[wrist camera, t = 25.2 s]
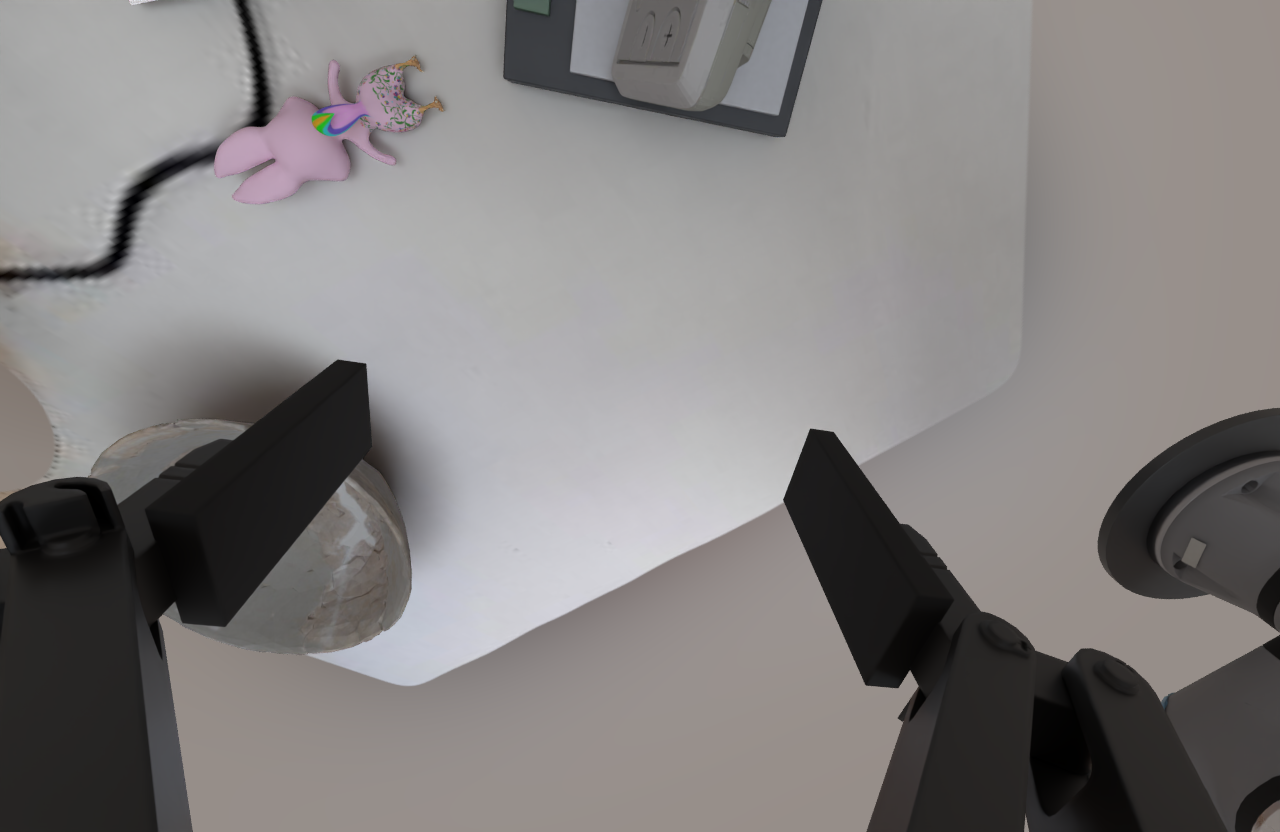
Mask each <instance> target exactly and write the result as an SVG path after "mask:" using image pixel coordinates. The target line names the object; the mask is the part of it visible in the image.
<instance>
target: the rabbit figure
mask: <svg viewBox="0 0 1280 832" xmlns="http://www.w3.org/2000/svg"><path fill="white" fill-rule="evenodd" d="M407 66H416V67H417V69H419V71H421V72H424V71H422V70H421V69H420V65H419V62H418V60H417V59H416V55H415V56H413V57H412V59H411V60H409V61H407V62H405V63H399V64H396V65H389V66H384V67H381V68H379V69H377V70H374V71H372V72H370V73H369V74H367V75H366V76H365V77H364V78H363V80H362V81H361V83H360V84H359V87H358V89H357V96H356V101H355V103H350V102H348V101H346V100H345V99H344V98H343V96H342V95H341V92H340V89H339V86H338V74H339V71H340V65H339V63H338V62H337V61H335V60H331V61H330V63H329V71H328V89H329V96H330V101H331V105H332V106H327V107H324V108H322V109H320V110H319V109H318V108H317V107H316V106H315V105H313V104H312V103H310V102H308V101H306V100H304V99H301V98H299V97H289V98H288V99H287V100H286V101H285V103H284V105H283V106H282V108H281V110H280V111H279V113H278V114H277V116H276V117H275V118H274V119H273V120H272V121H271V122H270V123H269V124H268V125H267V126H265V127H245V128H242V129H240V130H238V131H236V132H234V133H233V134H232V135H231V136H229V137H228V138H227V139H226V140H225V141H224V142H223V143H222V144H221V145H220V147H219V148H218V150H217V153H216V156H215V163H214V172H215V175H216V177H218V178H223V177H226V176H230V175H234V174H238V173H241V172H244V171H246V170H249V169H251V168H253V167H255V166H257V165H259V164H262V163H264V162H266V161H268V160H270V159H276V161H275V163H273V164H271V165H269V166H267V167H265V168H263V169H262V170H260V171H259V172H257V173H255V174H253V175H252V176H250V177H249V178H247V179H246V180H245V181H244V182H243V183H242V184H241V185H240V187H239V188H238V189H237V190H236V191H235V192H234V194H233V195H232V198H233V199H234V200H236V201H238V202H242V203H247V204H265V203H269V202H273V201H277V200H281V199H284V198H287V197H289V196H291V195H293V194H294V193H295V192H296V191H297V190H298V189H299V188H300V186H301V185H302V184H303V183H304V182H306V181H310V180H328V181H344V180H346V179H347V177H348V175H349V172H350V159H349V156H348V154H347V152H346V150H345V148H344V146H343V143H342V140H343V139H348V140H350V141H351V142H353V143H354V144H355V145H356V146H358V147H359V148H360V149H361V150H363V151H364V152H366V153H367V154H368V155H370V156H371V157H373V158H375V159H377V160H379V161H382V162H384V163H386V164H389V165H395V164H396V159H395V158H394V157H393V156H391V155H387V154H383V153H381V152H379V151H378V150H377V149H376V148H375V147H374V146H373V145H372V144H371V143H370V141H369V135H370V133H371V132H372V131H373V130H374V129H376V128H377V129H380V130H383V131H390V132H406V131H409V130H412V129H414V128H416V127H417V126H418V125H419V124H420V123H421V120H422V117H423V114H424V112H425V110H427V109H429V108H434V107H436V108H439V110H441V112H442V111H445V110H442V109H443V108H442V105H441V103H440V102H439V100H438V99H436V97H437V96H435V99H434V102H433V103H431V104H429V105H427V106H422V105H418V104H416V103H415V102H414V101H411V100H409V99H406V98H405V97H404V90H405V82H404V79H403V75H402V74H403V70H404V68H405V67H407Z"/></svg>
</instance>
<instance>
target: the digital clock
mask: <svg viewBox="0 0 1280 832" xmlns="http://www.w3.org/2000/svg"><path fill="white" fill-rule="evenodd" d="M771 1H772V0H629V3H628V7H627V11H626V14H625V18H624V22H623V25H622V29H621V33H620V37H619V40H618V44H617V48H616V52H615V56H614V59H613V64H612V70H611V74H612V77H613V80H614V82H615V84H616V86H617V88H618V90H619V92H620V94H621V95H622V96H624V97H626V98H629V99H633V100H638V101H643V102H648V103H652V104H657V105H662V106H667V107H672V108H676V109H681V110H687V111H704V110H707V109H710V108H712V107H714V106H716V105H718V104H719V103H720V102H721V101H722V100H723V99H724V98H725V96H726V95H727V93H728V90H729V88H730V86H731V84H732V81H733V78H734V76H735V73H736V70H737V68H739V67H740V66H742V65H744V64H745V63H747V62H748V61H749V60H750V57H751V55H752V52H753V49H754V47H755V44H756V41H757V39H758V36H759V33H760V31H761V28H762V25H763V23H764V20H765V17H766V15H767V12H768V9H769V7H770V4H771Z"/></svg>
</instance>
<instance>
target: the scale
mask: <svg viewBox="0 0 1280 832" xmlns="http://www.w3.org/2000/svg"><path fill="white" fill-rule="evenodd" d="M628 3H629V0H507V10H506V32H505V54H504V75H503V77H504V79H506V80H508V81H510V82H512V83H517V84H521V85H526V86H531V87H536V88H541V89H546V90H550V91H555V92H560V93H565V94H570V95H575V96H579V97H584V98H589V99H594V100H599V101H604V102H608V103H613V104H618V105H623V106H628V107H633V108H637V109H642V110H647V111H652V112H657V113H662V114H666V115H671V116H676V117H681V118H686V119H691V120H696V121H700V122H705V123H710V124H715V125H720V126H725V127H729V128H734V129H739V130H744V131H749V132H754V133H758V134H763V135H768V136H773V137H785V136H786V133H787V129H788V126H789V122H790V118H791V114H792V111H793V107H794V103H795V100H796V96H797V92H798V89H799V85H800V81H801V77H802V74H803V70H804V66H805V63H806V59H807V55H808V52H809V48H810V44H811V40H812V37H813V33H814V29H815V26H816V22H817V18H818V15H819V11H820V7H821V4H822V0H772V1H771V4H770V7H769V9H768V12H767V15H766V17H765V20H764V23H763V25H762V28H761V31H760V33H759V36H758V39H757V41H756V44H755V47H754V49H753V52H752V55H751V57H750V60H749V61H748V62H747V63H745V64H744V65H742V66H740V67H739V68H737V70H736V73H735V76H734V78H733V81H732V84H731V86H730V88H729V90H728V93H727V95H726V96H725V98H724V99H723V100H722V101H721V102H720V103H719V104H718V105H716V106H714V107H712V108H710V109H707V110H704V111H687V110H681V109H676V108H672V107H667V106H662V105H657V104H652V103H648V102H643V101H638V100H633V99H629V98H626V97H624V96H622V95H621V94H620V92H619V90H618V88H617V86H616V84H615V82H614V80H613V77H612V74H611V70H612V64H613V59H614V56H615V52H616V48H617V44H618V40H619V37H620V33H621V29H622V25H623V22H624V18H625V14H626V11H627V7H628Z"/></svg>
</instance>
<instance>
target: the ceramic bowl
mask: <svg viewBox="0 0 1280 832" xmlns="http://www.w3.org/2000/svg"><path fill="white" fill-rule="evenodd" d="M254 424H255V423H246V422H238V421H229V420H221V419H179V420H177V421H176V423H166V424H159V425H155V426H152V427H149V428H146V429H142V430H139V431H136V432H134V433H131V434H128V435H126V436H125V437H123V438H121V439H119V440H118V441H117V442H115V443H114V444H113V445H111V446H110V447H109V448H107V449H106V450H105V451H104V452H102V453H101V455H100V456H99V458H98V459H97V461H96V462H95V464H94V466H93V467H92V469H91V475H90V476H88V478H96V479H99V480H102V481H105V482H107V483H108V484H109V486H110V487H111V489H112V491H113V494H114V497H115V500H116V502H117V505H118V504H119V503H121V502H122V501H123V500H125V499H126V498H127V497H129V496H130V495H132V494H133V493H134V492H136V491H137V490H139V489H140V488H141V487H143V486H144V485H145V484H147V483H148V482H150V481H151V480H152V479H154V478H158V477H159V474H161V473H162V472H163V471H165V470H166V469H168V468H169V467H170V466H175V463H176V462H177V461H179V460H180V459H181V458H183V457H184V456H185V455H187V454H188V453H190V452H191V451H192V450H194V449H196V448H198V447H201V446H203V445H206V444H208V443H211V442H213V441H216V440H218V439H228V440H234V439H236V438H237V437H238V436H239V435H241V434H242V433H243V432H245V431H246V430H247V429H248V428H250V427H251V426H252V425H254ZM411 578H412V570H411V559H410V550H409V544H408V539H407V534H406V529H405V524H404V521H403V518H402V515H401V512H400V509H399V507H398V505H397V502H396V499H395V497H394V495H393V493H392V491H391V490H390V488H389V486H388V484H387V483H386V481H385V479H384V478H383V476H382V475H381V473H380V472H379V471H377V470H376V469H375V468H374V467H372V466H371V465H369V464H368V463H367V462H365V461H364V460H361V461H360V462H359V464H358V465H357V466H356V467H355V468H354V470H353V471H352V472H351V473H350V475H349V476H348V477H347V478H346V480H345V481H344V482H343V483H342V484H341V486H340V487H339V488H338V489H337V491H336V492H335V493H334V494H333V495H332V497H331V498H330V499H329V500H328V502H327V503H326V504H325V505H324V507H323V508H322V509H321V510H320V511H319V513H318V514H317V515H316V516H315V518H314V519H313V520H312V521H311V523H310V524H309V525H308V526H307V527H306V529H305V530H304V531H303V532H302V534H301V535H300V536H299V537H298V538H297V540H296V541H295V542H294V543H293V545H292V546H291V547H290V548H289V550H288V551H287V552H286V553H285V554H284V556H283V557H282V558H281V559H280V561H279V562H278V563H277V564H276V566H275V567H274V568H273V569H272V570H271V572H270V573H269V574H268V575H267V577H266V578H265V579H264V580H263V582H262V583H261V584H260V585H259V586H258V588H257V589H256V590H255V591H254V593H253V594H252V595H251V596H250V597H249V599H248V600H247V601H246V602H245V604H244V605H243V606H242V607H241V609H240V610H239V611H238V612H237V613H236V615H235V616H234V617H233V618H232V620H231V621H230V622H229V623H228V625H227V626H226V627H217V626H206V625H195V624H184V623H182V621H181V618H180V615H179V612H178V609H177V606H176V603H175V602H174V603H173V604H172V605H171V606H170V607H169V608H168V609H167V610H166V611H165V612H164V613H163V615H165V616H167V617H169V618H171V619H173V620H174V621H176V622H178V623H179V624H181V625H182V626H184V627H185V628H188V629H190V630H192V631H195V632H197V633H199V634H201V635H203V636H205V637H207V638H209V639H212V640H215V641H218V642H221V643H225V644H228V645H232V646H235V647H239V648H242V649H246V650H252V651H259V652H271V653H279V654H297V655H305V654H308V653H313V654H314V653H329V652H335V651H339V650H343V649H347V648H351V647H354V646H356V645H358V644H360V643H362V642H367V641H369V640H372V639H373V638H374V637H375V636H377V635H379V634H380V633H381V632H382V631H386V630H388V629H390V628H391V627H392V626H393V625H394V624H395V623H396V622H397V621H398V620H399V619H400V618H401V616H402V614H403V612H404V609H405V607H406V604H407V602H408V600H409V596H410V593H411Z"/></svg>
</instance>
